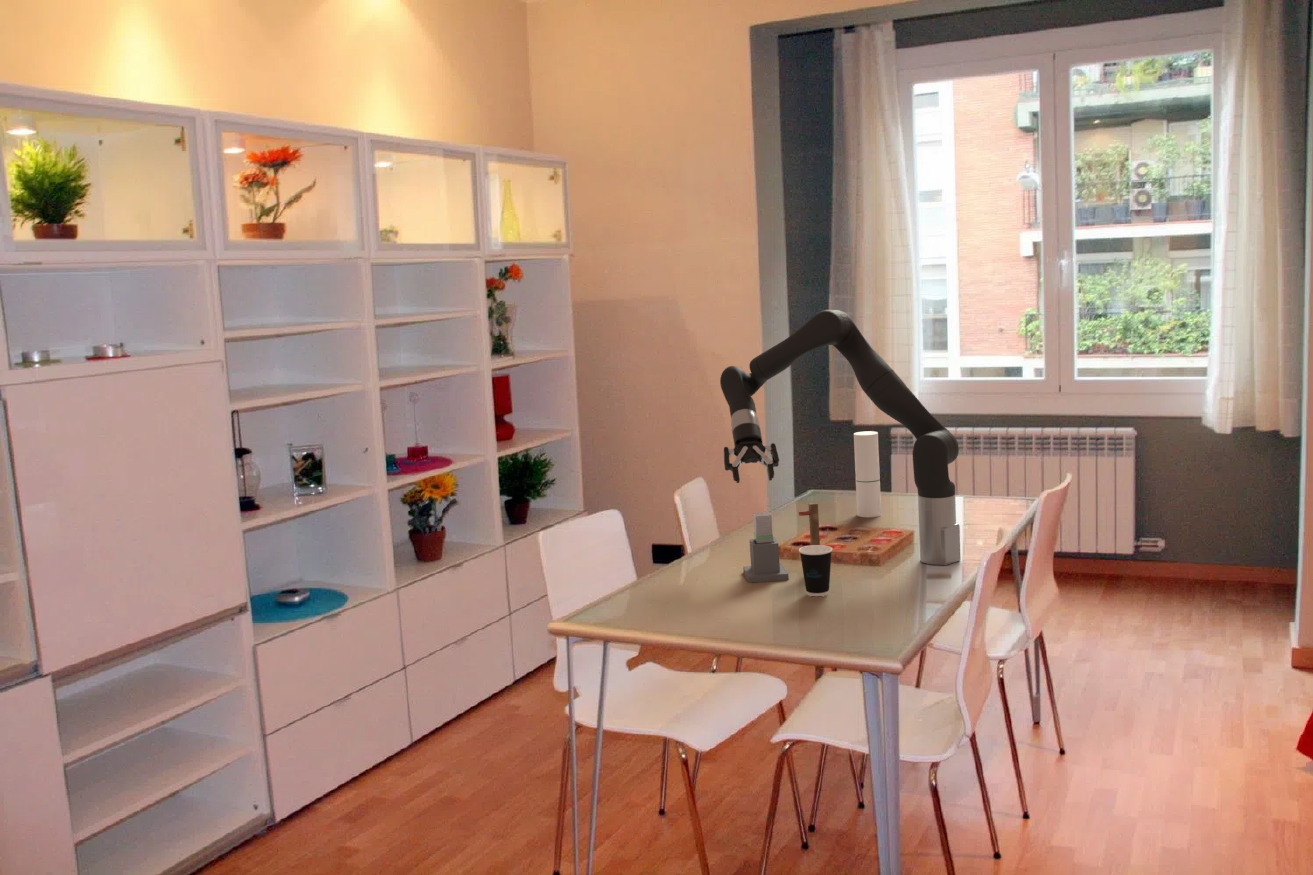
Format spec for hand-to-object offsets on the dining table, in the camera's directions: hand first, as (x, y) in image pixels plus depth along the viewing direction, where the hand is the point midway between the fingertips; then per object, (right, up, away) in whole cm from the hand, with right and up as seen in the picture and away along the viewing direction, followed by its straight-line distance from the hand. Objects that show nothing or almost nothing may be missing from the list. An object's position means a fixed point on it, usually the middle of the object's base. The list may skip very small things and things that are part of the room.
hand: (754, 480), depth 298 cm
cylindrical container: (+39, -12, +50) cm, 64 cm away
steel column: (+2, -22, -8) cm, 23 cm away
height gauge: (+15, -23, -7) cm, 28 cm away
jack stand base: (+2, -24, -8) cm, 25 cm away
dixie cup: (+13, -26, -26) cm, 39 cm away
